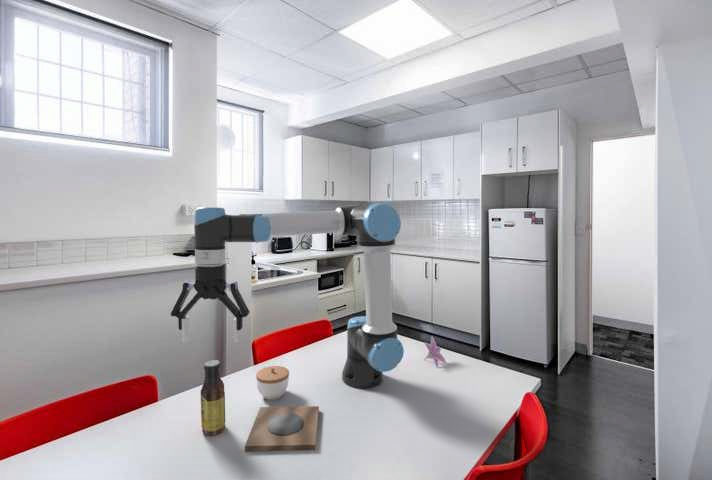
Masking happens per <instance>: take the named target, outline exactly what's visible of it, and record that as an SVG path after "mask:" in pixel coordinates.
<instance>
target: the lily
mask: <svg viewBox="0 0 712 480" xmlns="http://www.w3.org/2000/svg"><path fill="white" fill-rule="evenodd" d="M423 343H424V345H425V347H426V348H427V349H428V353H427V356H426V357H425V358H424V359H423V361H426V359H430V360H433V362H434V364H435V367H436V368H437V369H438V367H439V362H442V363H444V364H447V361H446V358H445V357H444V355H443V354H441V350H442V348H441V347H440V346H438V345H437V343H436V340H435V339H434V337H433V336H432V335H431V336H430V343H428V342H427V341H426V342H424V341H423Z"/></svg>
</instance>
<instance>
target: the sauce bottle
mask: <svg viewBox="0 0 712 480" xmlns="http://www.w3.org/2000/svg"><path fill="white" fill-rule="evenodd" d="M203 367H204V368H203V369H204V381H203V384H202V387H201V389H200V419H201V420H200V421H201V423H200V424H201V431H202V433H203V434H204V435H205V436H215V435H218V434H220V433H222V432H223V431H224V429H225V428H226V392H225V383H224V381H223V380H222V378H221V375H220V367H221V362H220V360H217V359H211V360H208V361H206V362H205V363H204V365H203Z"/></svg>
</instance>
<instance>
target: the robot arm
mask: <svg viewBox="0 0 712 480" xmlns="http://www.w3.org/2000/svg"><path fill="white" fill-rule="evenodd" d="M401 225H402V223H401V218H400V214H399V212H398V211H397V210H396V209H395V208H394V207H393V206H392V205H390V204H387V203H382V202H374V203H372V202H371V203H360V204H355V205H350V206H341V207H336V209H335V210H321V211H320V210H318V211H314V210H313V211H293V212H292V211H291V212H273V213H271V212H270V213H252V214H249V213H248V214H246V213H242V214H241V213H240V214H237V215H235V214H234V215H233V214H232V215H231V214H226V209H225V208H223V207H209V206H207V207H206V206H200V207H197V208H196V209H195V211H194V263H195V264H196V265H195V267H194V279H195V282H191V281H190V280H188V281H185V282H183V283H182V289H181V292H180V294H179V296H178V298H177V300H176V301H175V302H176V303H175V304H174V307H173V308H172V310H171V312H170V316H171V317H176V318H177V319H178V322H177V323H178V329H179V331H181V344H185V343H187V342H188V341H189V340H190V316H189V315H188V316H187V314H188V313H189V312H190V311H191V310H192V309H193V307H195V305H196V304H197V303H198V302H199V301H200V299H203V300H208V299H210V300H217V299H218V300H219V301H220V302H222V304H223V305H224V306H225V307H226V308H227V309H228V310H229V312H230V313H231V314H232V315H233V316H234V318H233V320H232V323H233V326H232V330H233V331H232V333H233V334H232V336H233V339H232V340H233V342H232V343H233V344H237V343H238V341H239V340H240V331H241V330H242V329H243V326H244V325H243V319H244V318H245V317H246V318H247V317H248V316H249V314H250V310H249V308H248V306H247V304H246V302H245V300H244V298H243V295H242V294H241V293H240V290H239V287H238V286H239V285H238V282H237V281H233V282H226V265H225V263H226V243H256V244H258V243H265V242H269V240H270V238H272V237H274V238H275V237H288V236H301V235H306V236H307V235H318V234H320V235H321V234H335V233H336V234H337V235H338V236H355V237H358V247H359V248H361V250H362V251H363V266H364V267H363V268H364V289H365V290H364V291H365V292H364V295H365V298H364V299H365V315H361V316H355V317H354V316H353V317H352V318H349V320H348V322H347V327H346V329H347V335H346V337H347V339H346V341H347V342H346V344H347V345H346V346H347V347H346V349H347V351H346V352H347V354H346V355H347V356H346V359H345V363H344V366H343V369H342V373H341V375H342V377H341V378H342V379H341V380H342V381H343V382H344V383H345V384H346V385H347V386H349V387H353V388H356V389H370V388H375V387H377V386H379V385H381V384H382V382H383V381H384V373H385V372H389V371H390V372H391V371H392V370H394V369H395V368H397V366H398V365H399V364H400V363H401V361H402V359H403V357H404V355H405V353H404V352H405V349H404V345H403V343H402V342H401V340H400V339H398V326H397V324H396V323H395V322H393V305H392V302H393V301H392V298H393V297H392V264H391V260H392V258H391V250H392V249H393V248H394V247H395V246H396V237H397V236H398V234H399V233H400V231H401V227H402V226H401ZM193 289H194V290H195V291H196V294H195V295H194V296H193V297H192V299H190V301H189V302H188V303H187V304H186V305H185V307H184V308H183V305H184V304H185V302H186V300H187V297H188V296H189V294H190V292H191V291H192V290H193ZM227 289H228V291H229V292H230V294H231V295H232V297H233V299H234V301H232V299H231V298H230V297H229V296H228V294H227V292H226V290H227ZM234 302H235V303H236V304H237V305H236V304H235V303H234ZM182 308H183V309H182Z"/></svg>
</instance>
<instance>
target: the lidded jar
mask: <svg viewBox="0 0 712 480" xmlns="http://www.w3.org/2000/svg"><path fill="white" fill-rule="evenodd" d="M289 377H290V371H289V369H288V368H287V367H285V366H281V365H271V366H266V367H265V366H264V367H262V368H261V369H259V370H258V371H257V372H256V375H255V378H256V387H257V390H258V393H259V394H260V395H261V396H263V398H264V399H265V400H270V401H271V400H272V401H273V400H277V399H279V398H281V397H282V395H283V394H284V393H285V392H286V390H287V389H288V385H289V379H290V378H289Z"/></svg>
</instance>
